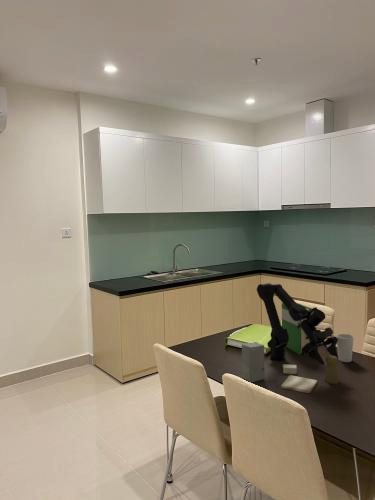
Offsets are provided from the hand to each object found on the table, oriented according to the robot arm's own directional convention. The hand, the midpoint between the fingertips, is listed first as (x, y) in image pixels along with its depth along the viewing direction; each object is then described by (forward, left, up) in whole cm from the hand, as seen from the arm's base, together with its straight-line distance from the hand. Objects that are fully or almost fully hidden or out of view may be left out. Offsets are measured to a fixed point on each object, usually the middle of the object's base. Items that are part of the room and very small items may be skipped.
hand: (330, 362), depth 174 cm
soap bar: (-19, +1, -8) cm, 21 cm away
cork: (0, 0, -8) cm, 8 cm away
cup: (0, +29, -8) cm, 30 cm away
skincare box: (-31, -14, -8) cm, 35 cm away
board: (-11, -11, -8) cm, 17 cm away
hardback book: (-26, +34, -8) cm, 43 cm away
